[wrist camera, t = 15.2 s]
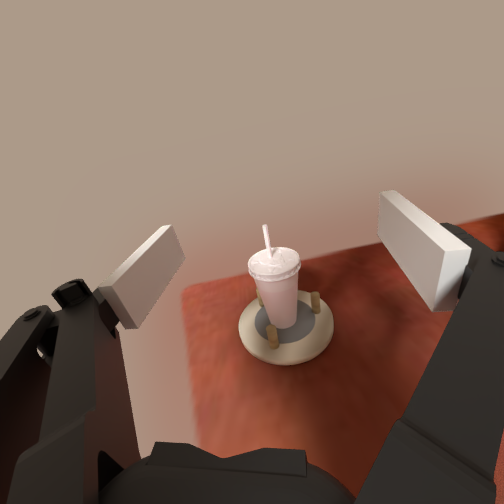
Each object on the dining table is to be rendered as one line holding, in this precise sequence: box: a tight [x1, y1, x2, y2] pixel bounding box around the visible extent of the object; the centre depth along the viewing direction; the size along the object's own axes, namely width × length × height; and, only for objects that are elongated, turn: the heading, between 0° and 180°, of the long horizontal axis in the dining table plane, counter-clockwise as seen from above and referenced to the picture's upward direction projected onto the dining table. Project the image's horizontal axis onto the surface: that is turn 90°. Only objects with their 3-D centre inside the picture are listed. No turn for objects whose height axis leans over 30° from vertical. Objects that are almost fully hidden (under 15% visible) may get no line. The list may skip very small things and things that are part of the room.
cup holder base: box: [239, 288, 334, 365], centre depth 33 cm, size 13×13×4 cm
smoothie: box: [248, 224, 301, 329], centre depth 30 cm, size 6×6×14 cm
